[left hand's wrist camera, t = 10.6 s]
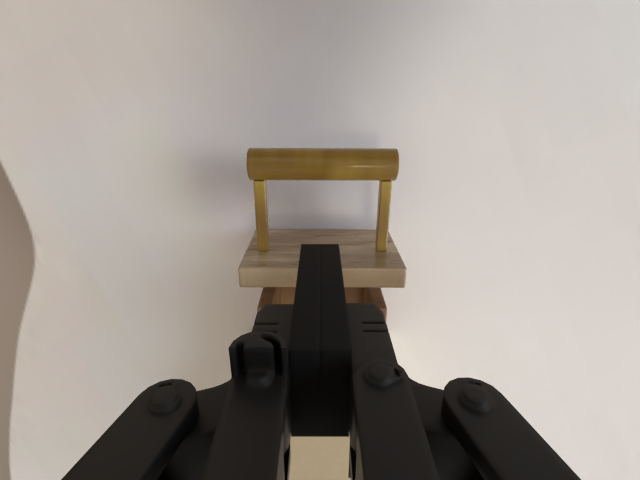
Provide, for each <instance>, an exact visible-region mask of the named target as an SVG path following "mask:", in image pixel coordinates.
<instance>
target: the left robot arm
mask: <svg viewBox="0 0 640 480" xmlns="http://www.w3.org/2000/svg"><path fill="white" fill-rule="evenodd" d="M229 355H230V364H231V373H232V378H231V380H229V381H228V382H226V383H224V384H222V385H219V386H216V387H213V388H209V389H205V390H201V391H197V392H196V389H195V387H194V386H193V385H192V384H191V383H190V382H187V381H185V380H182V379H170V380H166V381H161V382H158V383H156V384H154V385H152V386H150V387H148V388H147V389H146V390H145V391H143V392H142V393H141V394H140V395H139V396H138V397H137V398H136V399H135V400H134V401H133V402H132V403H131V404H130V405H129V407H128V408H127V409H126V410H125V411H124V412H123V413H122V414H121V415H120V416H119V417H118V419H117V420H116V421H115V422H114V423H113V424H112V425H111V426H110V427H109V428H108V429H107V430H106V432H105V433H104V434H103V435H102V436H101V437H100V438H99V439H98V440H97V441H96V442H95V444H94V445H93V446H92V447H91V448H90V449H89V450H88V451H87V452H86V453H85V454H84V456H83V457H82V458H81V459H80V460H79V461H78V462H77V463H76V464H75V465H74V466H73V468H72V469H71V470H70V471H69V472H68V473H67V474H66V475H65V476H64V477H63V478H62V480H289V473H290V460H291V449H290V438H291V437H349V436H350V448H349V473H348V478H351V480H581V479H580V478H579V477H578V476H577V475H576V474H575V473H574V472H573V471H572V469H571V468H570V467H569V466H568V465H567V464H566V463H565V462H564V461H563V460H562V459H561V458H560V457H559V455H558V454H557V453H556V452H555V451H554V450H553V449H552V448H551V447H550V446H549V445H548V444H547V442H546V441H545V440H544V439H543V438H542V437H541V436H540V435H539V434H538V433H537V432H536V431H535V429H534V428H533V427H532V426H531V425H530V424H529V423H528V422H527V421H526V420H525V419H524V418H523V416H522V415H521V414H520V413H519V412H518V411H517V410H516V409H515V408H514V407H513V406H512V405H511V403H510V402H509V401H508V400H507V399H506V398H505V397H504V396H503V395H502V394H501V393H500V392H499V391H498V390H496V389H495V388H494V387H493V386H491V385H489V384H487V383H485V382H483V381H481V380H477V379H473V378H457V379H454V380H452V381H449V383H448V384H447V385H446V386H445V388H444V390H441V389H437V388H433V387H429V386H425V385H422V384H419V383H417V382H415V381H413V380H411V379H410V378H409V377H408V375H407V373H406V372H405V370H404V369H403V368H402V367H401V366H399V365H398V363H397V360H396V356H395V353H394V349H393V346H392V342H391V339H390V335H389V332H388V328H387V325H386V321H385V318H384V314H383V311H381V310H380V309H379V308H378V307H377V306H376V305H375V304H374V303H346V297H345V289H344V281H343V273H342V265H341V257H340V249H339V244H301V249H300V257H299V265H298V273H297V281H296V289H295V297H294V304H266V305H265V306H264V307H263V308H262V309H261V310H260V311H259V312H258V313H257V316H256V319H255V323H254V326H253V330H252V332H250V333H247V334H244V335H242V336H240V337H239V338H237V339H236V340H234V341H233V342H232V344H231V345H230V347H229Z"/></svg>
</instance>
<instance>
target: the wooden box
mask: <svg viewBox="0 0 640 480" xmlns="http://www.w3.org/2000/svg"><path fill="white" fill-rule="evenodd" d="M349 448H350V436H349V437H291V438H290V449H291V460H290V473H289V480H351V478H348V473H349Z"/></svg>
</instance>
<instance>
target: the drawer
mask: <svg viewBox="0 0 640 480" xmlns="http://www.w3.org/2000/svg"><path fill="white" fill-rule="evenodd" d="M398 170H399V154H398V150H397V149H336V148H249V149H248V152H247V172H248V177H249V179H250V180H254V196H255V212H256V228H257V230H256V231H255V234H254V236H253V238H252V240H251V242H250V244H249V246H248V249H247V251H246V253H245V255H244V257H243V259H242V261H241V264H240V266H239V268H238V271H239V283H240V287H263V291H262V294H261V298H260V301H259V305H258V308H257V311H258V312H259V311H260V310H261V309H262V308H263V307H264V306H265V305H266V304H294V297H295V289H296V281H297V273H298V265H299V257H300V249H301V244H339V249H340V257H341V265H342V273H343V281H344V289H345V297H346V303H374V304H375V305H376V306H377V307H378V308H379V309H380V310H381V311H383V314H384V318H385V321H386V314H387V307H386V304H385V301H384V298H383V295H382V291H381V288H380V287H394V288H403V287H405V280H406V270H407V269H406V267H405V265H404V263H403V260H402V258H401V256H400V254H399V252H398V250H397V248H396V246H395V244H394V242H393V240H392V238H391V236H390V234H389V232H388V225H389V212H390V198H391V185H392V182H391V180H396V178H397V175H398ZM266 180H379V195H378V211H377V227H376V230H274V229H268V213H267V193H266Z"/></svg>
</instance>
